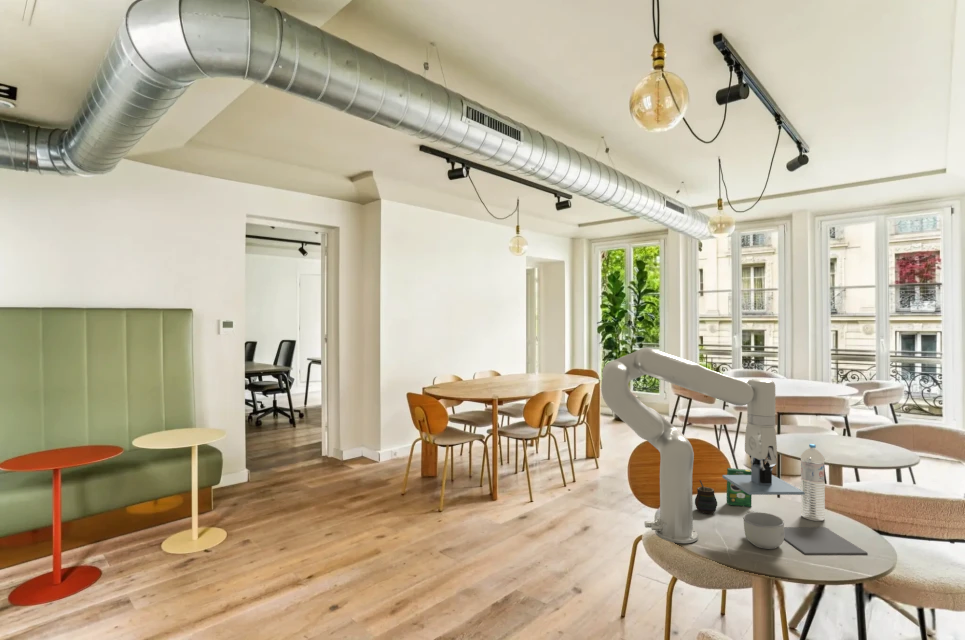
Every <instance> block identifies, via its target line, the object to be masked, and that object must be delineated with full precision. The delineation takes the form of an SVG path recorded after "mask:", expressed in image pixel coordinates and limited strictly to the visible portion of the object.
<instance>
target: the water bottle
mask: <svg viewBox="0 0 965 640" xmlns="http://www.w3.org/2000/svg"><path fill="white" fill-rule="evenodd" d="M816 447H817V445H816V444H813V443H809V445H808V449H806V450H804V451H803V452H802V453H801V454H800V461H801V462H800V464H801V465H800V467H801V468H800V469H801V470H800V490H802V491H804V492H805V495H800V513H801V514H800V515H801V517H802V518H804V519H806V520H808V521H811V522H812V521H814V522H823V521H824V520H825V517H826V509H825V508H826V503H825V502H826V501H825V500H826V496H825V495H826V493H825V492H826V491H825V490H826V487H825V486H826V485H825V483H826V481H825V462H826V461H825V457H824V456H823V454H822V453H821V452H820V451H819V450H817V449H816Z"/></svg>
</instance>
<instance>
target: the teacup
mask: <svg viewBox="0 0 965 640" xmlns="http://www.w3.org/2000/svg"><path fill="white" fill-rule="evenodd" d="M742 518H743V529H744V530H743V531H744V536H745V538H746V539H747V540H748V541H749V542H750V543H751V544H752V545H754V546H755V547H757V548H759V549H764V550H773V549H776V548H778V547H780V546H781V545H783V543H784V541H785V540H784V527H785V521H784V519H783V518H781V517H779V516H777V515H776V514H772V513H768V512H758V511H757V512H756V511H754V510H750V509H749V510H747V512H746V513H745V514H743V516H742Z"/></svg>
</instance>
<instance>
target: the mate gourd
mask: <svg viewBox="0 0 965 640" xmlns="http://www.w3.org/2000/svg"><path fill="white" fill-rule="evenodd" d="M699 483H700V485H701V486H700V487H697V489H696V490H697V491H696V492H697V494H696V496H695V499H694V505H695V508H696V509H697V510H698V512H699V513H701V514H706V515H711V514H713V513H715V511H717V507H718V501H717V498H716V496H715V489H714V488H712V487H708V486H704V484H703V482H702V480H701V479H700V480H699Z"/></svg>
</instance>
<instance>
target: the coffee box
mask: <svg viewBox="0 0 965 640" xmlns="http://www.w3.org/2000/svg"><path fill="white" fill-rule="evenodd" d="M726 475H751V469H743V468H742V469H741V468H734V467H731V468H730V467H727V469H726ZM752 496H753V495H749V494H747V493H746V492H744V491H743V490H741V489H740V488H738V487H736V486H735V485H733V484H732V483H730V482H729V481H727V480H726V504H727V505H728V506H737V507H744V508H745V507H746V508H751V507H752Z"/></svg>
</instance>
